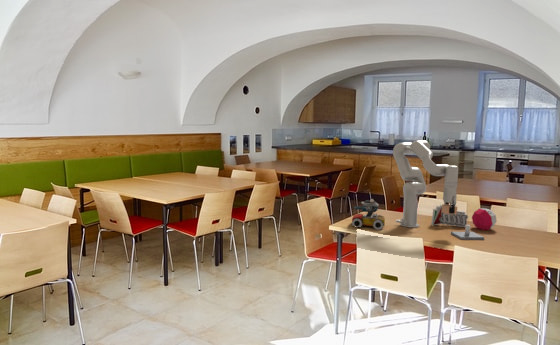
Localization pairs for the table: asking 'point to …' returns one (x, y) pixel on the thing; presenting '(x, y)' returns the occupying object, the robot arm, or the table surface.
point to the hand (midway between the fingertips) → (449, 211)
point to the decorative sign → (449, 218)
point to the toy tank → (369, 216)
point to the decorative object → (484, 219)
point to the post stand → (467, 234)
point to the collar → (447, 209)
